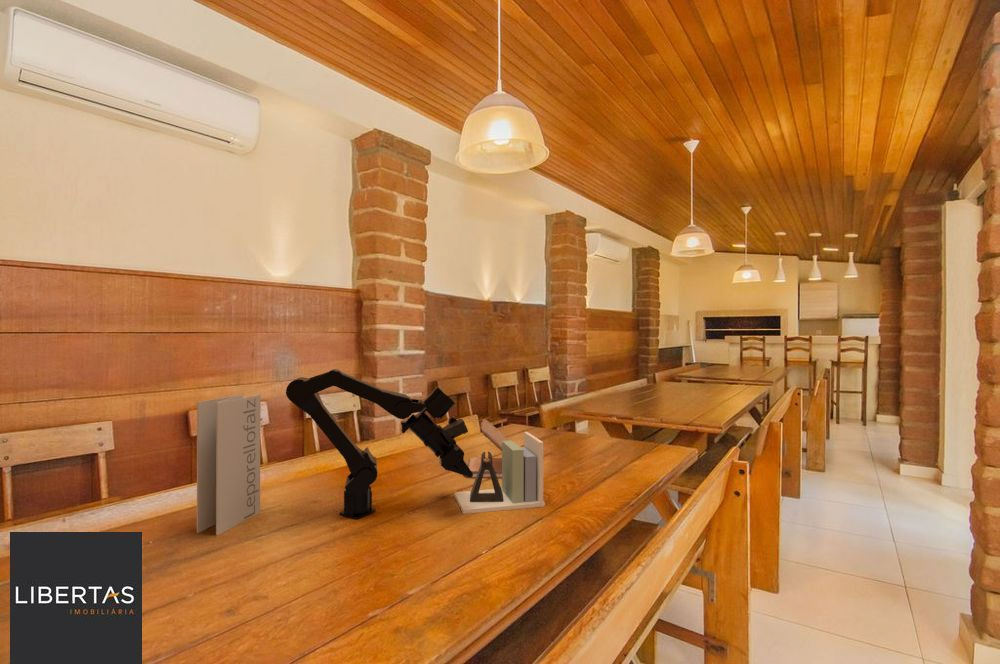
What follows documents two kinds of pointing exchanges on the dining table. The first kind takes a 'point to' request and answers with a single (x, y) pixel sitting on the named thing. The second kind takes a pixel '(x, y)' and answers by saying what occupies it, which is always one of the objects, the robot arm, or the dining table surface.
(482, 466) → the phone stand
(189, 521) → the dining table surface
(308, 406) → the robot arm
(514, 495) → the bookshelf
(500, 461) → the case
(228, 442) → the brochure
